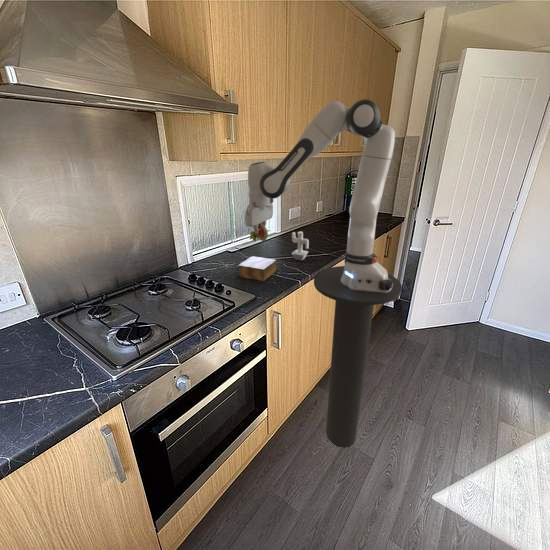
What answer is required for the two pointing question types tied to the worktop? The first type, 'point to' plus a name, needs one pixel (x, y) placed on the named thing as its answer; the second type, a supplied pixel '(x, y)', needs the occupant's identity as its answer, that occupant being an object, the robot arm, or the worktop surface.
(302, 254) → the figurine
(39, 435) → the worktop surface
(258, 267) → the wooden block
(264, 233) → the bird rattle
